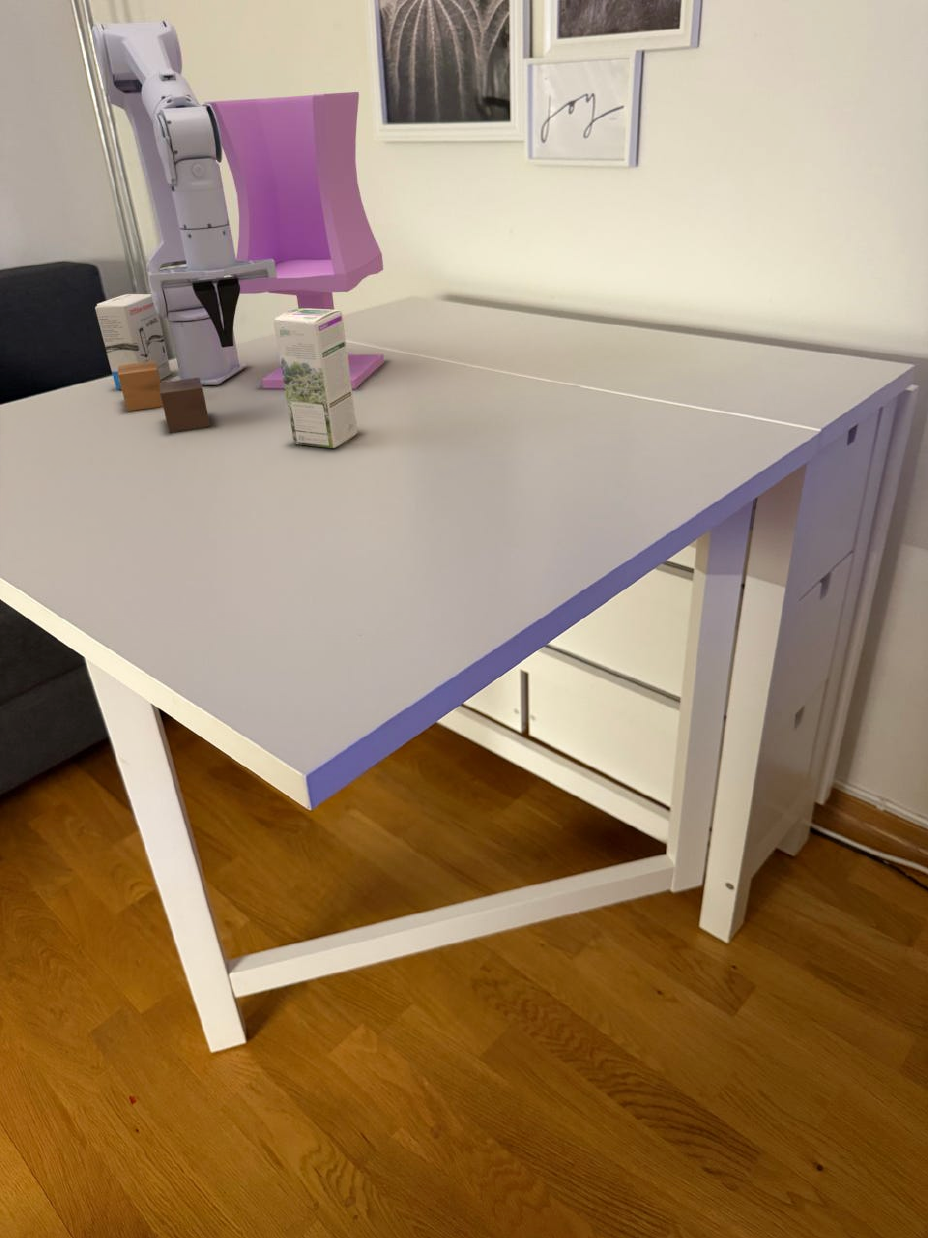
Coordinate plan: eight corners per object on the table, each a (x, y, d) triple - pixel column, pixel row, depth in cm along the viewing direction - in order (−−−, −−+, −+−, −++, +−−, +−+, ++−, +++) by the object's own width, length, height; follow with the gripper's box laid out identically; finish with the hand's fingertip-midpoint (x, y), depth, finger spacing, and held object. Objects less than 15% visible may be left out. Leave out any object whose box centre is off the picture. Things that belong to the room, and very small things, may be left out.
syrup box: (359, 433, 107) (344, 307, 99) (333, 450, 102) (315, 319, 95) (319, 429, 109) (301, 305, 102) (291, 445, 105) (270, 317, 97)
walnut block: (167, 421, 115) (158, 382, 113) (207, 415, 117) (199, 377, 114) (169, 432, 111) (160, 393, 109) (210, 426, 112) (202, 387, 110)
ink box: (145, 389, 129) (124, 304, 123) (114, 389, 130) (92, 305, 124) (173, 373, 136) (155, 292, 130) (143, 373, 137) (124, 292, 131)
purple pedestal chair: (253, 390, 126) (201, 101, 108) (295, 360, 139) (255, 98, 121) (359, 390, 122) (324, 93, 104) (392, 360, 135) (365, 91, 117)
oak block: (127, 401, 124) (117, 365, 122) (164, 396, 125) (156, 360, 123) (127, 411, 120) (117, 374, 118) (165, 406, 121) (157, 369, 119)
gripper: (140, 236, 99) (168, 360, 106) (271, 223, 102) (290, 344, 109) (139, 229, 105) (165, 347, 112) (264, 217, 108) (282, 332, 115)
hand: (227, 345), depth 111 cm, fingers closed
